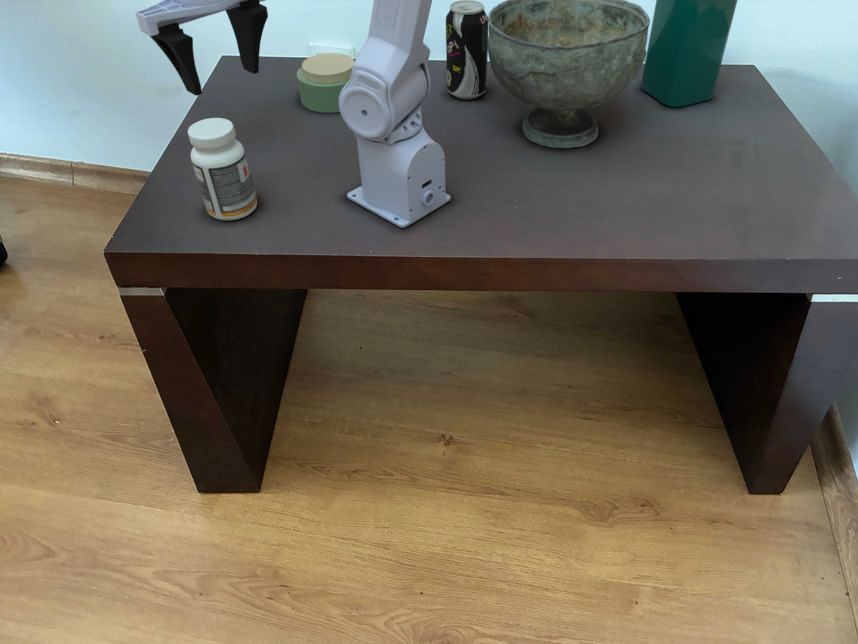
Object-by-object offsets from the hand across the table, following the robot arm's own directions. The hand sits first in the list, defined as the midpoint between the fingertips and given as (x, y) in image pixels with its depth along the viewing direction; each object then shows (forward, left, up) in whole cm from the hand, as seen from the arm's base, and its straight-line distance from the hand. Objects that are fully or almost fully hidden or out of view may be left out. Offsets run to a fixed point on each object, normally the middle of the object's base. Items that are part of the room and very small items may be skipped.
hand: (223, 81), depth 82 cm
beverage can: (-8, -33, -10) cm, 35 cm away
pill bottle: (-8, +7, -10) cm, 15 cm away
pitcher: (-31, -53, -10) cm, 62 cm away
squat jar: (+5, -19, -10) cm, 22 cm away
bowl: (-24, -33, -10) cm, 42 cm away
